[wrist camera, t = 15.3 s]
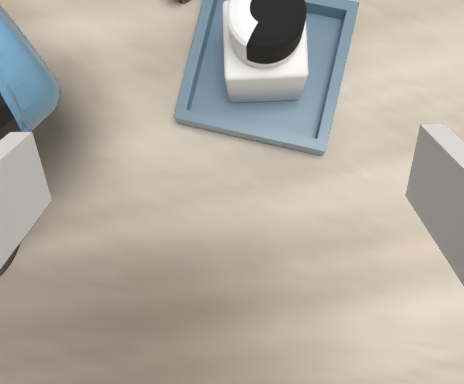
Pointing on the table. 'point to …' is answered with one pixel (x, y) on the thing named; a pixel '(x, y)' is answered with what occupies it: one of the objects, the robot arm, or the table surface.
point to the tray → (269, 112)
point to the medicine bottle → (265, 49)
